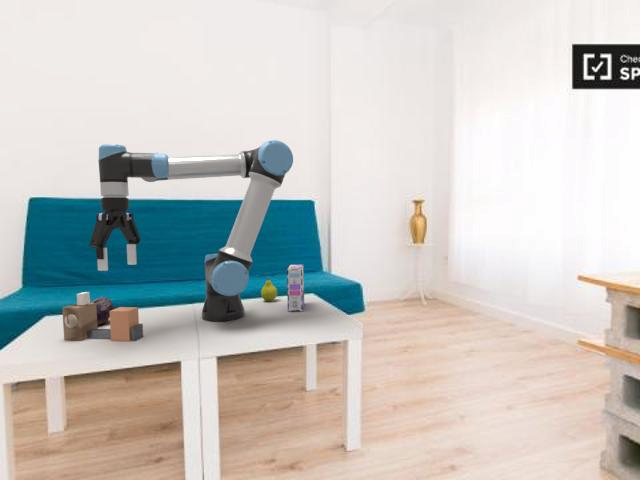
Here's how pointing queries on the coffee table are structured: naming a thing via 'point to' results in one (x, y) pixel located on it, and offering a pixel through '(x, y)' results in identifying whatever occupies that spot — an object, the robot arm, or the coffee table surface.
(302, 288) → the candy box
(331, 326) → the coffee table surface
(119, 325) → the block
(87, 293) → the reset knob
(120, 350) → the coffee table surface
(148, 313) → the coffee table surface
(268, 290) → the fruit
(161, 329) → the coffee table surface
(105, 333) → the rail
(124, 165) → the robot arm
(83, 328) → the cabinet
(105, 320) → the rock
